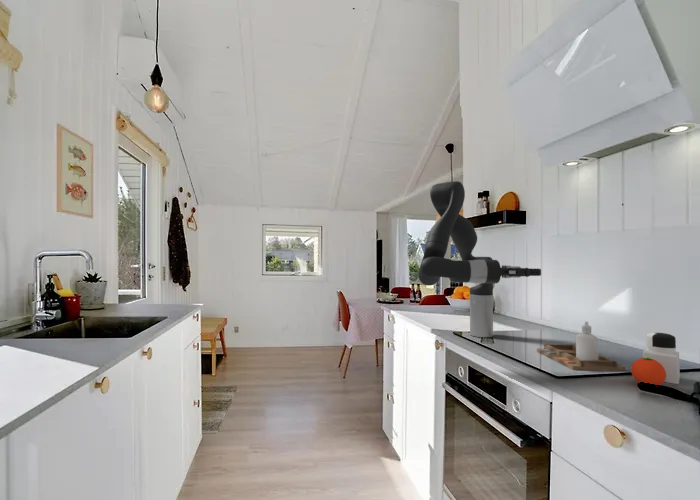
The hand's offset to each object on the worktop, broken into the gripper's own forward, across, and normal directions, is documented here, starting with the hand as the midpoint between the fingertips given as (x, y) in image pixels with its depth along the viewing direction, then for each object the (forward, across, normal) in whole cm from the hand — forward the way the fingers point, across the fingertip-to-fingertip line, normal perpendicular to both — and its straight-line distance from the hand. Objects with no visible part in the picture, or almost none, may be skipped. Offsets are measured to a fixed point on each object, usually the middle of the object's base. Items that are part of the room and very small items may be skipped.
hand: (534, 271), depth 117 cm
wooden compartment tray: (+14, +2, +28) cm, 31 cm away
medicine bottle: (+26, -16, +28) cm, 42 cm away
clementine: (+18, -22, +28) cm, 40 cm away
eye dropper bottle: (+14, -4, +27) cm, 31 cm away
